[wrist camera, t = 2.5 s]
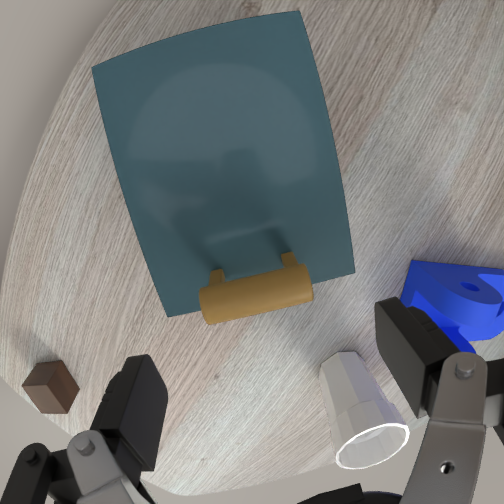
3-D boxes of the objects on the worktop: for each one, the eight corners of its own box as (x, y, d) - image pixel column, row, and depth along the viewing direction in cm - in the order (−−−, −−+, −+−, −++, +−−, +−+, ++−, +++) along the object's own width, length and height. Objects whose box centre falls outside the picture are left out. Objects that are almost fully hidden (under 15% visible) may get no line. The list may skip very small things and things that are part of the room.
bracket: (388, 334, 31) (426, 390, 22) (411, 260, 28) (464, 304, 20) (496, 329, 32) (535, 367, 24) (518, 270, 30) (565, 302, 21)
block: (54, 390, 32) (41, 413, 28) (36, 363, 31) (21, 385, 26) (80, 388, 32) (67, 414, 28) (62, 360, 30) (46, 384, 26)
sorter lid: (351, 267, 19) (384, 308, 15) (169, 311, 20) (152, 361, 15) (297, 14, 14) (318, -24, 9) (96, 69, 15) (52, 52, 10)
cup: (366, 336, 31) (409, 412, 20) (373, 378, 33) (408, 451, 23) (304, 358, 31) (329, 442, 21) (318, 398, 33) (340, 477, 23)
